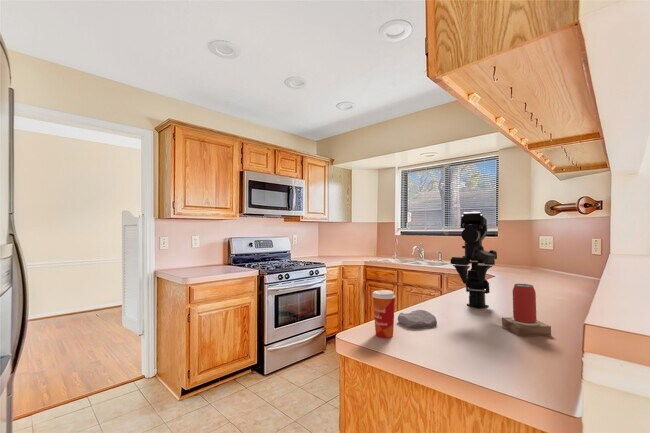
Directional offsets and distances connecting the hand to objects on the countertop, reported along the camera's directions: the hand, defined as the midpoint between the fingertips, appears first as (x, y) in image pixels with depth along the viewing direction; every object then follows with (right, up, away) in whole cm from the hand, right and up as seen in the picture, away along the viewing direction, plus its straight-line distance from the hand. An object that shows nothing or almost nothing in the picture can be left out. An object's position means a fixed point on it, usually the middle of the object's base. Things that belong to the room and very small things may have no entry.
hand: (473, 283), depth 122 cm
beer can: (+9, -9, -18) cm, 22 cm away
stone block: (-24, -13, -9) cm, 29 cm away
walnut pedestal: (+9, -12, -18) cm, 23 cm away
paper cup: (-39, -13, -20) cm, 46 cm away
